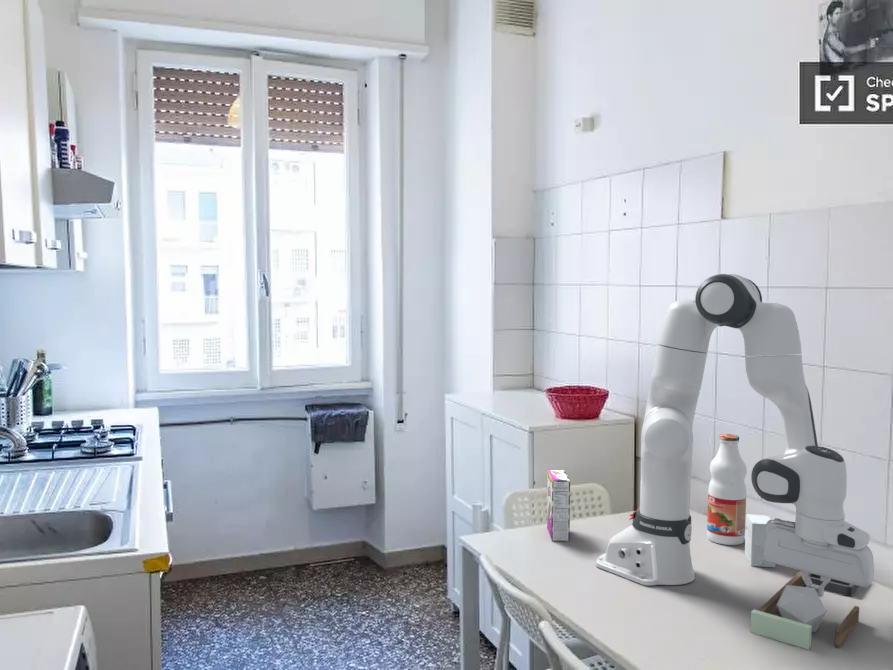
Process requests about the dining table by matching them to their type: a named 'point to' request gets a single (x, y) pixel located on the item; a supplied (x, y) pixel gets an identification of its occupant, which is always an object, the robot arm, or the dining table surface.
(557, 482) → the candy bar box
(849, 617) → the lane walls
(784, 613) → the die
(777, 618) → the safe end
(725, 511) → the fruit juice
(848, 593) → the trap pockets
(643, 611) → the dining table surface
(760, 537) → the small box
